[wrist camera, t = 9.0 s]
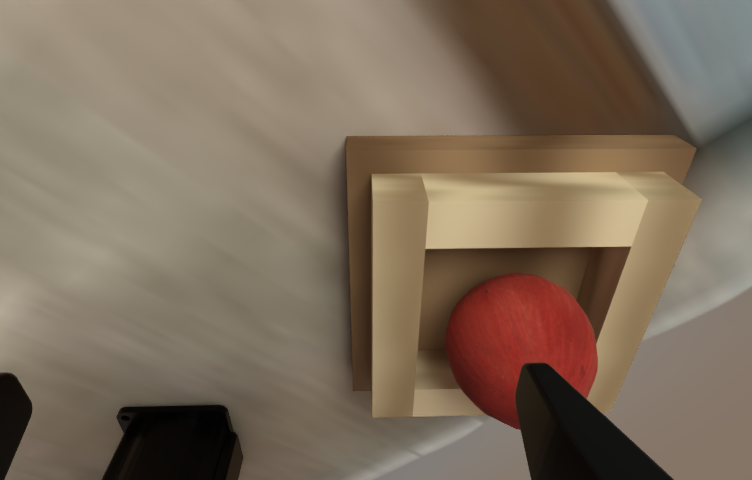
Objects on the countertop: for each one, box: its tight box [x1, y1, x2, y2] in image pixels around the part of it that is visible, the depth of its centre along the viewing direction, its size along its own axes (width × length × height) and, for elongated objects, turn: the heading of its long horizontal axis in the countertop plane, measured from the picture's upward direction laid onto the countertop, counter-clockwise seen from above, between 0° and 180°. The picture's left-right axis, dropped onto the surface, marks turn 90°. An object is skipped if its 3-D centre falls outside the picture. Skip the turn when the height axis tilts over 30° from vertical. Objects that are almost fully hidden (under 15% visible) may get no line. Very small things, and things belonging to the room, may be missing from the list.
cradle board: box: [346, 135, 702, 418], centre depth 21 cm, size 14×14×4 cm
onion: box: [445, 273, 598, 430], centre depth 18 cm, size 6×6×8 cm
